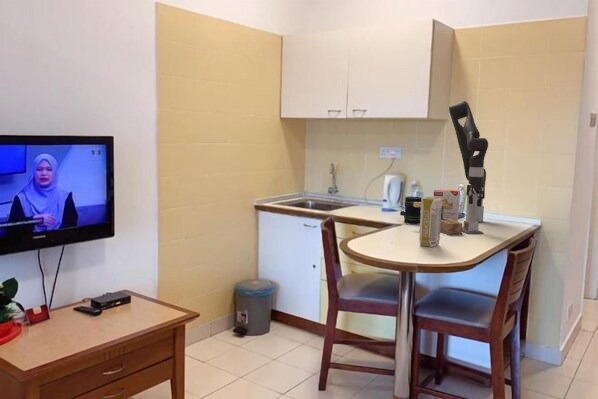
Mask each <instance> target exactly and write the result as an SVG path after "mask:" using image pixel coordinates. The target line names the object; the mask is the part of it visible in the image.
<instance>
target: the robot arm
mask: <svg viewBox="0 0 598 399" xmlns="http://www.w3.org/2000/svg"><path fill="white" fill-rule="evenodd" d="M448 111H449V114H450V118H451V121H452V124H453V125H452V126H453V127H454V131H455V134H456V138H457V143H458V148H459V151H460V154H461V158H462V162H463V163H462V164H463V170H464V175H465V176H464V177H465V178H466V180H467V181H468V184H467V185H466V193H465V194H466V208H465V209H466V210H465V221H476V222H479V223H484V212H485V211H484V210H485V207H484V205H483V203H484V200H485V196H486V194H485V193H486V191H485V190H486V188H485V187H486V180H487V171H486V169H485V167H484V166H485V157H486V154H487V151H488V148H489V142H488V139H487V138H485V137H481V135H480V134H481V133H480V131H479V130H478V126H476V125H477V124H476V123H475V120H474V117H473V113H472V109H471V108H470V104H469V102H467V101H466V100H464V101H458V102H457V103H454V104H451V105H449V106H448ZM465 118H466V119H465ZM462 119H465V122H464V124H463V125H461V123H460V122H459V120H462ZM476 152H478V153H477V154H476V155H474V154H475V153H476Z"/></svg>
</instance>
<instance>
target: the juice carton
mask: <svg viewBox="0 0 598 399" xmlns="http://www.w3.org/2000/svg"><path fill="white" fill-rule="evenodd" d="M432 196H433V195H426V196H425V198H424V197H423V198H422V199H421V200H422V202H421V217H420V223H419V237H418V238H419V246H421V245H423V246H422V247H426V246H429V247H428V248H433V246H434V247H436V245H437V246H438V245H439V244H440V241H441V240H440V239H441V232H440V225H441V207H442V203H441V198H433V197H434V196H433V197H432Z"/></svg>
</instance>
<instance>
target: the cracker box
mask: <svg viewBox="0 0 598 399" xmlns="http://www.w3.org/2000/svg"><path fill="white" fill-rule="evenodd" d="M460 194H461V190H460V189H459V190H458V189H448V188H447V189H445V188H434V189H433V198H441V202H445V207H443V217H446V218H449V219H451V220H454V221H457V222H459V211H460V210H459V209H460Z"/></svg>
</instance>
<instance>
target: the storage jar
mask: <svg viewBox="0 0 598 399" xmlns="http://www.w3.org/2000/svg"><path fill="white" fill-rule="evenodd" d="M422 199H423V198H422V197H420V196H405V197H404V212H403V213H404V215H403V219H404V220H403V223H405V224H409V225H410V224H411V225H416V224H419V225H420V217H421V207H413V205H414V202H422Z"/></svg>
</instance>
